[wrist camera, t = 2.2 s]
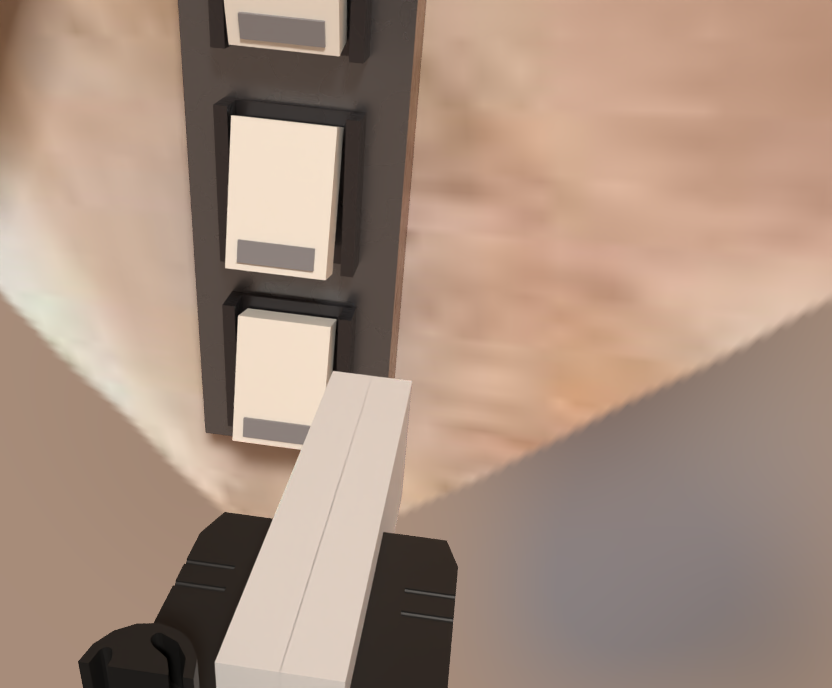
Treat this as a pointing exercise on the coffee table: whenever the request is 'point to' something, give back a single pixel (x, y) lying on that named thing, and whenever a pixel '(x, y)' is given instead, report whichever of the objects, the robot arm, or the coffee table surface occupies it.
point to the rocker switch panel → (358, 189)
